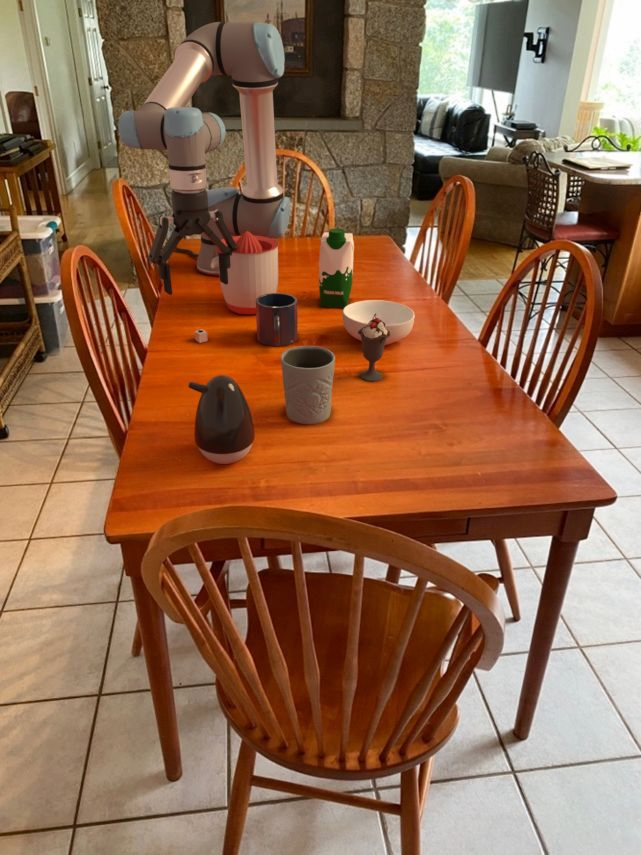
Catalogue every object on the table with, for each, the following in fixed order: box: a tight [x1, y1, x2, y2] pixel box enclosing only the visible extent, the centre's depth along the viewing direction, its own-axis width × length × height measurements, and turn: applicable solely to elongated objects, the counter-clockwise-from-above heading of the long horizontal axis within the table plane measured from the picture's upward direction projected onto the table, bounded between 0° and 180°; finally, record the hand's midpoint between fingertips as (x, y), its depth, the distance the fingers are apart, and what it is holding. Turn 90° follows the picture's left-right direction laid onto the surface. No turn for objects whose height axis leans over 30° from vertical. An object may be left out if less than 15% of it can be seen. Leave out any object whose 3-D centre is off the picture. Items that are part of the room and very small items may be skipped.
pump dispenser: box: [188, 374, 256, 465], centre depth 111 cm, size 10×10×15 cm
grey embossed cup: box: [280, 345, 336, 425], centre depth 125 cm, size 10×10×12 cm
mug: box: [255, 292, 298, 347], centre depth 155 cm, size 13×10×10 cm
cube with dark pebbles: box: [194, 328, 209, 344], centre depth 156 cm, size 2×2×2 cm
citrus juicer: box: [211, 231, 280, 315], centre depth 170 cm, size 16×17×20 cm
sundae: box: [358, 313, 390, 382], centre depth 138 cm, size 7×7×15 cm
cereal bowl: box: [342, 299, 416, 346], centre depth 157 cm, size 17×17×7 cm
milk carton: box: [318, 228, 355, 309], centre depth 174 cm, size 9×9×20 cm
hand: (196, 287), depth 150 cm, fingers open, 13 cm apart
